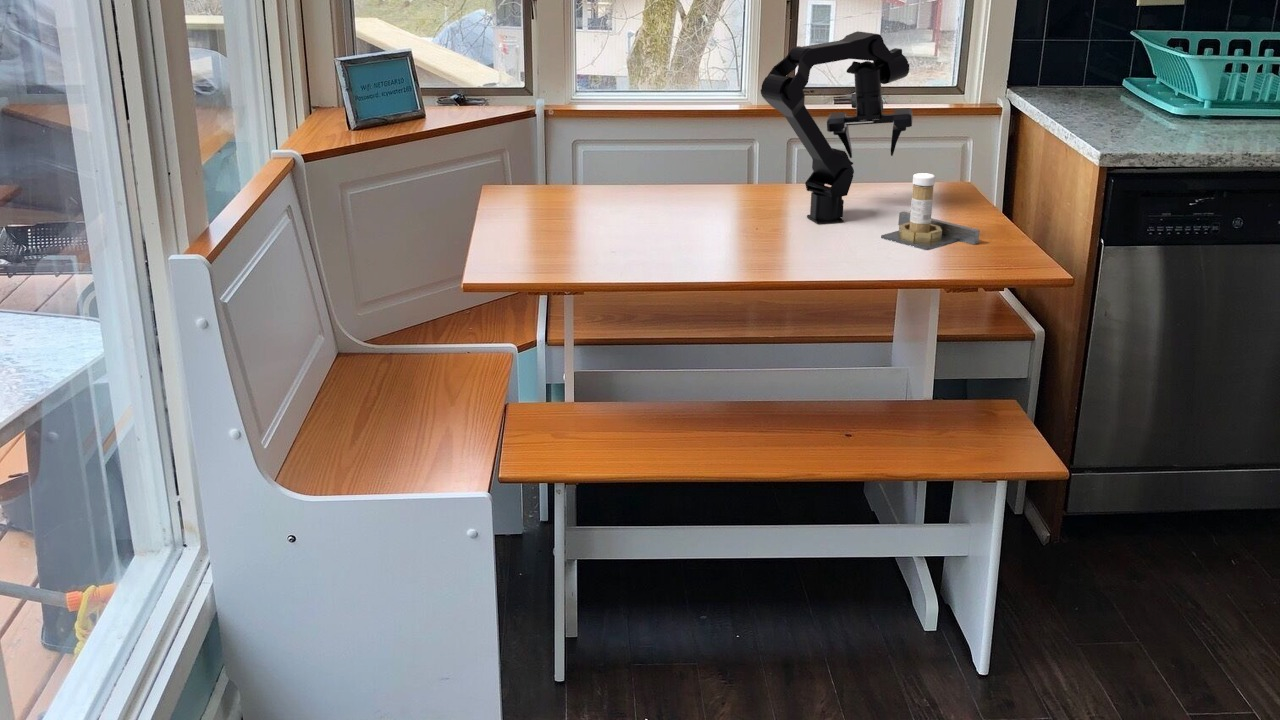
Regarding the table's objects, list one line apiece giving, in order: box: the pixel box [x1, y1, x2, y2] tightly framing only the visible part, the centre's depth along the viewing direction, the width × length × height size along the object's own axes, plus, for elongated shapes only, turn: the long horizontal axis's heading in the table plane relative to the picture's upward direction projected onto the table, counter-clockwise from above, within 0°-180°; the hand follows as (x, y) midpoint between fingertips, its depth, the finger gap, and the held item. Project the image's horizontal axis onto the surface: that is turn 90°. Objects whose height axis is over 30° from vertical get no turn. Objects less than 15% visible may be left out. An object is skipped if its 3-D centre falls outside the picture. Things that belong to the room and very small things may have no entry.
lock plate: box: [880, 211, 980, 251], centre depth 260 cm, size 20×12×3 cm, turn 41°
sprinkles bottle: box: [909, 172, 936, 232], centre depth 257 cm, size 5×5×14 cm
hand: (871, 156), depth 276 cm, fingers open, 9 cm apart
